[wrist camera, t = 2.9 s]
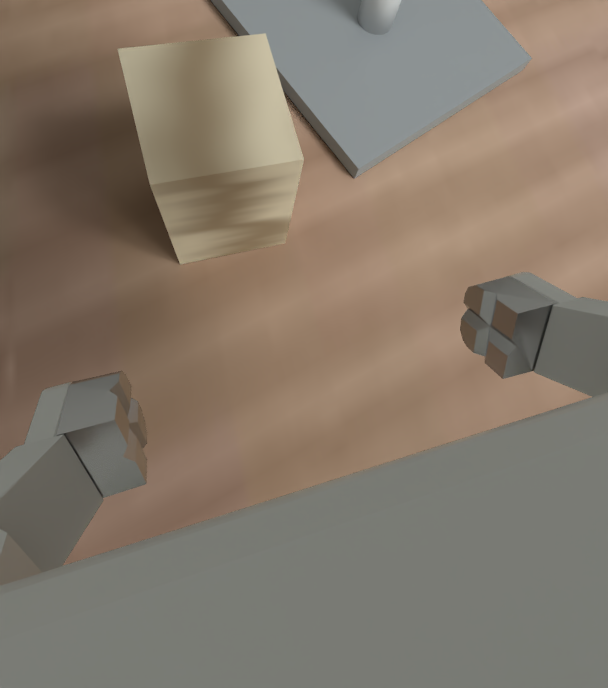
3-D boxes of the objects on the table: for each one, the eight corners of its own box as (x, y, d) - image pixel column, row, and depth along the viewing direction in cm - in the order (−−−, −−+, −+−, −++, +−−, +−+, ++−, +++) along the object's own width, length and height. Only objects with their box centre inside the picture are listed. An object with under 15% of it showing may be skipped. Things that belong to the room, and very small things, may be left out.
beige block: (258, 151, 26) (265, 33, 18) (285, 243, 25) (304, 159, 17) (156, 167, 25) (117, 48, 17) (180, 264, 24) (150, 184, 16)
